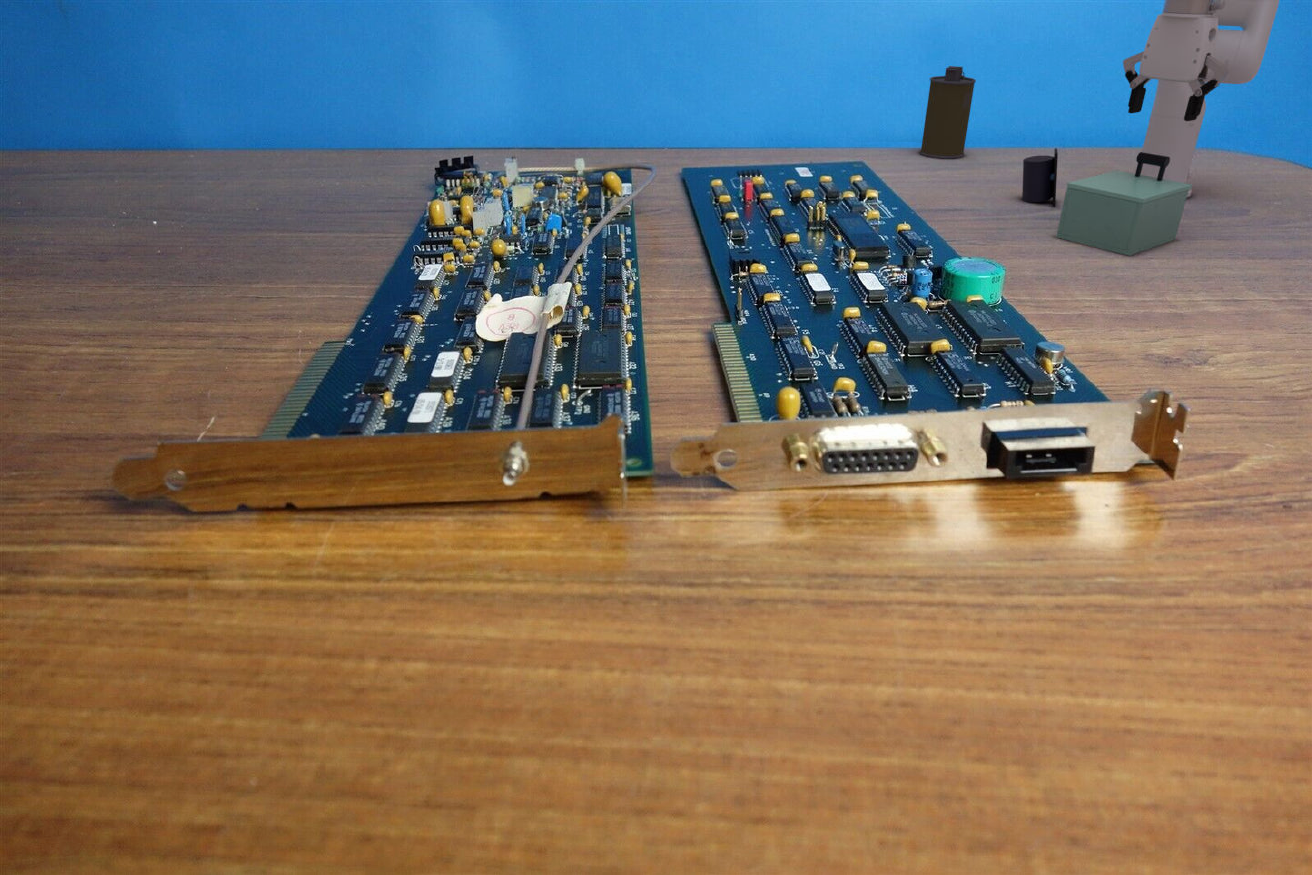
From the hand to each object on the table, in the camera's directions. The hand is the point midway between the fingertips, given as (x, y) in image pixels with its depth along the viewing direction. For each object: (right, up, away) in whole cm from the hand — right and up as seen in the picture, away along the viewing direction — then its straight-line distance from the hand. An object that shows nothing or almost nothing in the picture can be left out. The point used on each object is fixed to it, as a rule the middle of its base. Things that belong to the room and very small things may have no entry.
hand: (1161, 116), depth 160 cm
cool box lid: (-5, -12, +2) cm, 13 cm away
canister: (-17, +14, +68) cm, 72 cm away
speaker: (-10, -8, +29) cm, 31 cm away
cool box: (-5, -20, +6) cm, 21 cm away
